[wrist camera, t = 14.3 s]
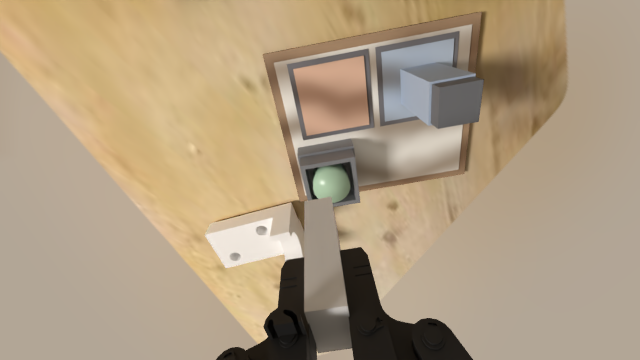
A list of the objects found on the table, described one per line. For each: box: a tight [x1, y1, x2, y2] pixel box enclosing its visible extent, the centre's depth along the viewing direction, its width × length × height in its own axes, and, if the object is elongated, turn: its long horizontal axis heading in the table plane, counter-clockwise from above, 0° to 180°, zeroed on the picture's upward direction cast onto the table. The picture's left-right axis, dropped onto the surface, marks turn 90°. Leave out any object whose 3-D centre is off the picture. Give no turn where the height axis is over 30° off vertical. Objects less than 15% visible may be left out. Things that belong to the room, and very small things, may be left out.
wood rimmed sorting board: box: [263, 12, 482, 202], centre depth 34 cm, size 20×24×1 cm
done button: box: [313, 163, 350, 203], centre depth 33 cm, size 4×4×3 cm
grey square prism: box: [400, 62, 484, 129], centre depth 27 cm, size 4×4×10 cm
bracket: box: [205, 203, 304, 268], centre depth 40 cm, size 13×7×8 cm, turn 106°
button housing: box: [297, 138, 360, 207], centre depth 35 cm, size 7×7×5 cm
